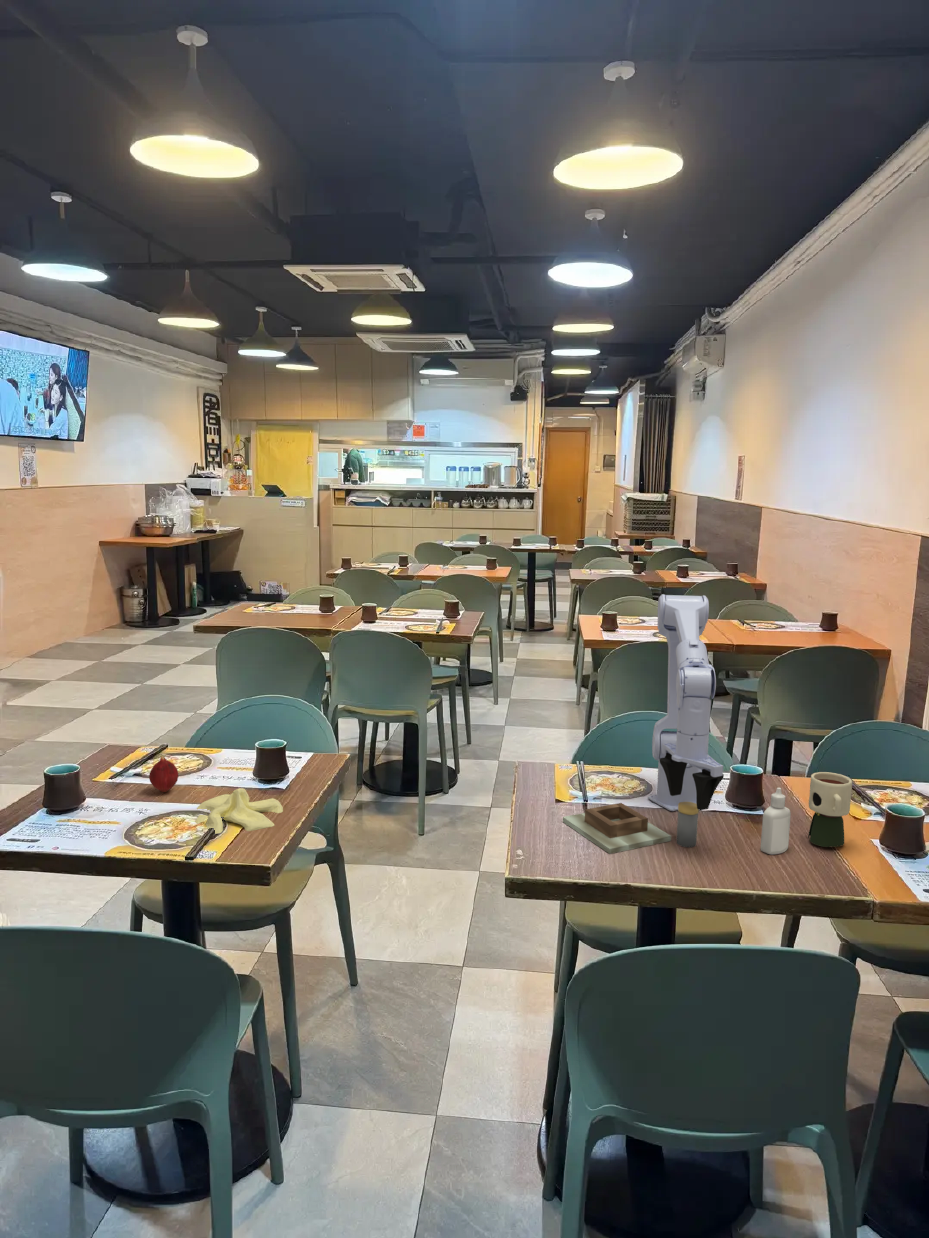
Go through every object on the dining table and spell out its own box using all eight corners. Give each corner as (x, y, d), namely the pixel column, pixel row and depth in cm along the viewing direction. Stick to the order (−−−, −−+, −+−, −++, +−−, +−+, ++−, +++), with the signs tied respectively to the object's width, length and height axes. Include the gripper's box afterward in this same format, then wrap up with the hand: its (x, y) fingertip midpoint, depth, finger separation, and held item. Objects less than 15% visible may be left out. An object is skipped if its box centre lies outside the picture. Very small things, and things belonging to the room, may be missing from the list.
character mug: (798, 830, 163) (803, 767, 161) (836, 833, 162) (842, 769, 160) (813, 855, 153) (819, 787, 151) (854, 857, 152) (861, 789, 150)
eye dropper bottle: (794, 855, 153) (799, 792, 151) (764, 855, 152) (769, 792, 150) (783, 844, 157) (788, 783, 155) (754, 845, 157) (759, 784, 155)
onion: (184, 790, 180) (183, 755, 179) (162, 799, 175) (160, 762, 174) (167, 785, 183) (165, 750, 182) (144, 793, 178) (142, 757, 177)
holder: (620, 810, 172) (621, 794, 172) (670, 840, 158) (671, 823, 157) (562, 821, 166) (563, 804, 166) (609, 853, 152) (610, 835, 152)
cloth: (206, 798, 178) (205, 770, 177) (293, 799, 178) (292, 771, 177) (168, 842, 156) (166, 811, 155) (267, 844, 156) (266, 813, 155)
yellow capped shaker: (687, 837, 160) (689, 800, 158) (700, 845, 156) (703, 807, 155) (672, 841, 158) (674, 803, 157) (685, 848, 155) (687, 810, 153)
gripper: (650, 723, 158) (647, 791, 160) (702, 745, 145) (698, 819, 148) (680, 719, 161) (676, 786, 164) (733, 740, 148) (729, 812, 151)
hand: (688, 801), depth 156 cm, fingers open, 7 cm apart
